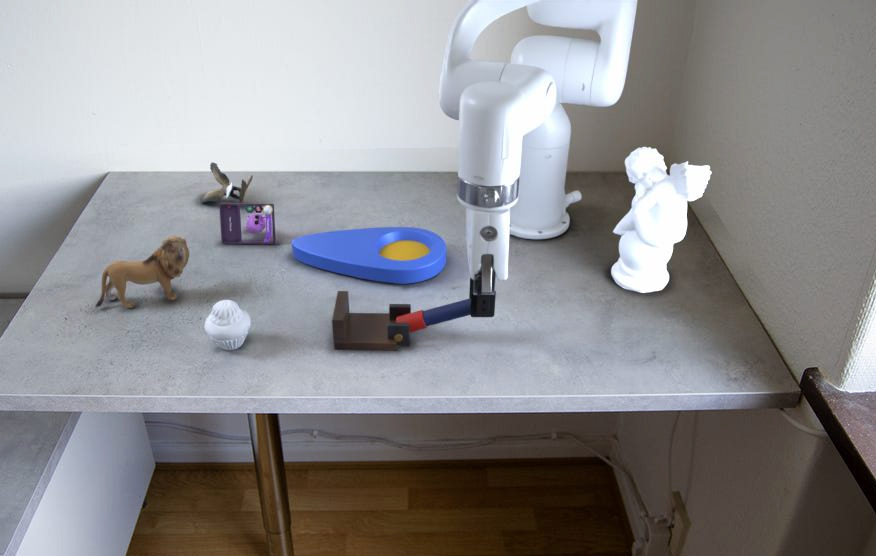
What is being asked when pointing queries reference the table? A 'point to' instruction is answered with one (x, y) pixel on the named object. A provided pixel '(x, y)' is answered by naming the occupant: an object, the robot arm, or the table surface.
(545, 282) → the table surface
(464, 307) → the blue lever handle
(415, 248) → the location marker
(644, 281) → the cherub figurine
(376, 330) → the brown lever base
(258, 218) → the purple toy package
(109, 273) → the lion figurine
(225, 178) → the eagle figurine
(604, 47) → the robot arm
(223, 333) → the muffin
